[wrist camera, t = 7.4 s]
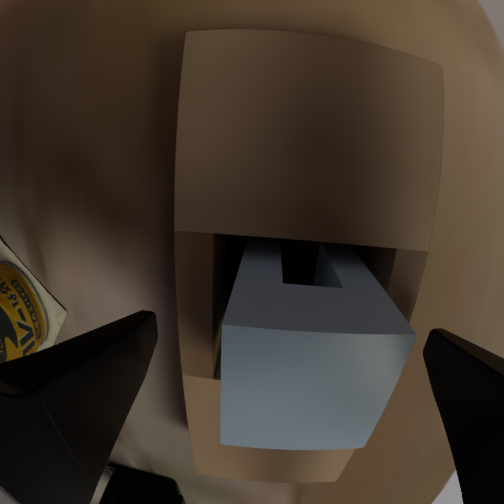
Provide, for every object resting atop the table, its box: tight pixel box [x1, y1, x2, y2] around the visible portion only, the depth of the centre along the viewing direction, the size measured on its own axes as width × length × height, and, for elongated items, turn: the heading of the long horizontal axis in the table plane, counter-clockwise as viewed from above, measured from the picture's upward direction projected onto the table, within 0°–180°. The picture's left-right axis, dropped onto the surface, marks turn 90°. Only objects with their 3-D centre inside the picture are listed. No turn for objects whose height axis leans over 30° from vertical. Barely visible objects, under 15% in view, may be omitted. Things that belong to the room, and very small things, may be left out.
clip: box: [221, 236, 416, 450], centre depth 9 cm, size 4×4×7 cm
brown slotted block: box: [174, 29, 444, 483], centre depth 11 cm, size 8×20×3 cm, turn 177°
